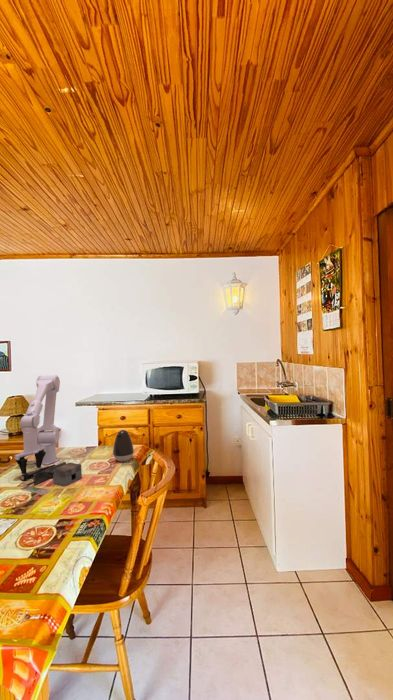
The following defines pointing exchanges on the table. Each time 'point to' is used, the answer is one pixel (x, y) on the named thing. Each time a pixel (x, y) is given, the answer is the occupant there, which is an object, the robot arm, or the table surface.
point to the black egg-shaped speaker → (123, 446)
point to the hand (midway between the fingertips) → (31, 470)
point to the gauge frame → (60, 477)
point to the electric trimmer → (32, 473)
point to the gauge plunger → (45, 474)
